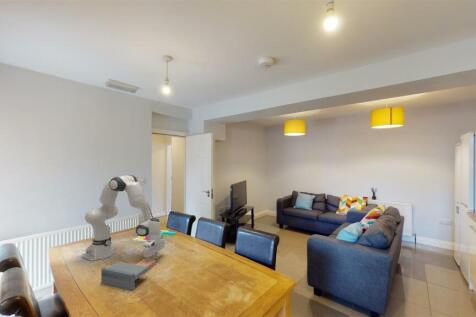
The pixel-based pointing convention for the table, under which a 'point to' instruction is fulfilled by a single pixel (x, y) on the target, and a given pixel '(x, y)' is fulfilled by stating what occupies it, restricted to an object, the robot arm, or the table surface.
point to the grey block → (122, 275)
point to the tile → (147, 263)
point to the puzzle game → (144, 238)
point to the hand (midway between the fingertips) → (154, 258)
